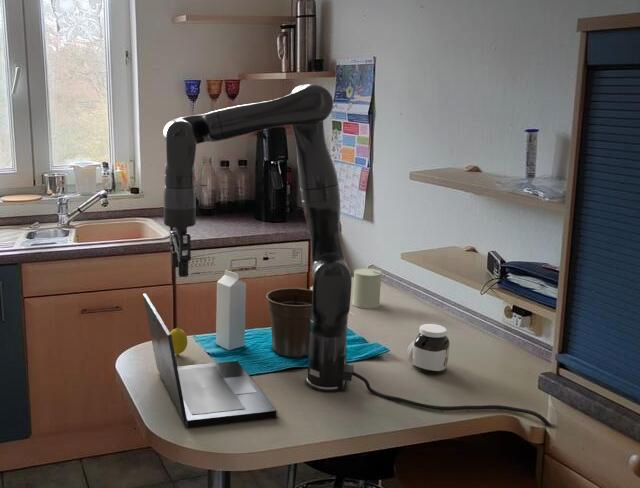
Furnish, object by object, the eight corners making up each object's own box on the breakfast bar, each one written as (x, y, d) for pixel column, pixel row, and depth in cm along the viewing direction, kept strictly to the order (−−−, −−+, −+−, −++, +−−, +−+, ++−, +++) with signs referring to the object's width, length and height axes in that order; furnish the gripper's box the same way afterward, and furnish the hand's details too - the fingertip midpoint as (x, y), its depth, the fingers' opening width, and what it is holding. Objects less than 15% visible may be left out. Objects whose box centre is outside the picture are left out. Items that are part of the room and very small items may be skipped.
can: (376, 310, 244) (378, 275, 242) (349, 306, 248) (351, 272, 245) (382, 302, 253) (384, 268, 250) (355, 298, 256) (357, 265, 254)
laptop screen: (146, 293, 186) (142, 293, 186) (171, 334, 158) (167, 335, 158) (160, 367, 192) (157, 368, 192) (187, 420, 164) (183, 421, 163)
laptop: (237, 367, 197) (237, 360, 197) (276, 417, 169) (276, 410, 169) (160, 374, 192) (160, 367, 192) (187, 428, 164) (187, 420, 163)
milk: (228, 350, 209) (230, 276, 204) (215, 344, 213) (216, 271, 208) (245, 345, 212) (246, 272, 207) (231, 339, 217) (233, 267, 212)
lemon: (180, 360, 201) (180, 332, 200) (163, 356, 204) (163, 328, 202) (191, 353, 206) (191, 326, 204) (174, 349, 209) (174, 323, 207)
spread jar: (434, 379, 191) (438, 336, 188) (395, 367, 198) (398, 326, 196) (454, 365, 200) (458, 325, 197) (415, 354, 207) (418, 315, 204)
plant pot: (260, 357, 204) (261, 302, 200) (268, 337, 219) (270, 285, 215) (319, 363, 200) (322, 307, 196) (324, 342, 215) (326, 290, 212)
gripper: (201, 210, 167) (201, 279, 170) (189, 199, 180) (189, 263, 184) (169, 211, 165) (169, 280, 169) (159, 200, 179) (159, 264, 182)
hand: (179, 271), depth 176 cm, fingers open, 8 cm apart
